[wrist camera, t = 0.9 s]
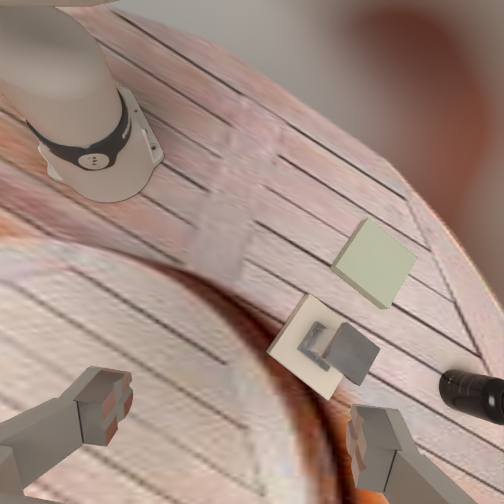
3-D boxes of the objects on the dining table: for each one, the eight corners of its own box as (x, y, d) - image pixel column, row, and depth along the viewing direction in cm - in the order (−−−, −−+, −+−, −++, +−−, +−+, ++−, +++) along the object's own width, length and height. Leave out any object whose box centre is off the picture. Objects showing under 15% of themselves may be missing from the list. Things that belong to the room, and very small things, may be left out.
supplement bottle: (476, 385, 53) (552, 404, 42) (460, 417, 51) (536, 446, 40) (448, 360, 53) (516, 373, 42) (431, 392, 52) (498, 414, 40)
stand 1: (265, 351, 48) (269, 353, 46) (305, 294, 51) (310, 293, 49) (322, 396, 48) (328, 400, 46) (357, 336, 51) (365, 337, 49)
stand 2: (329, 268, 53) (335, 266, 51) (361, 221, 57) (368, 217, 54) (380, 308, 53) (388, 308, 51) (408, 259, 57) (418, 257, 54)
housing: (296, 349, 46) (325, 358, 36) (314, 321, 48) (347, 322, 37) (323, 370, 46) (359, 386, 36) (340, 341, 48) (380, 348, 37)
